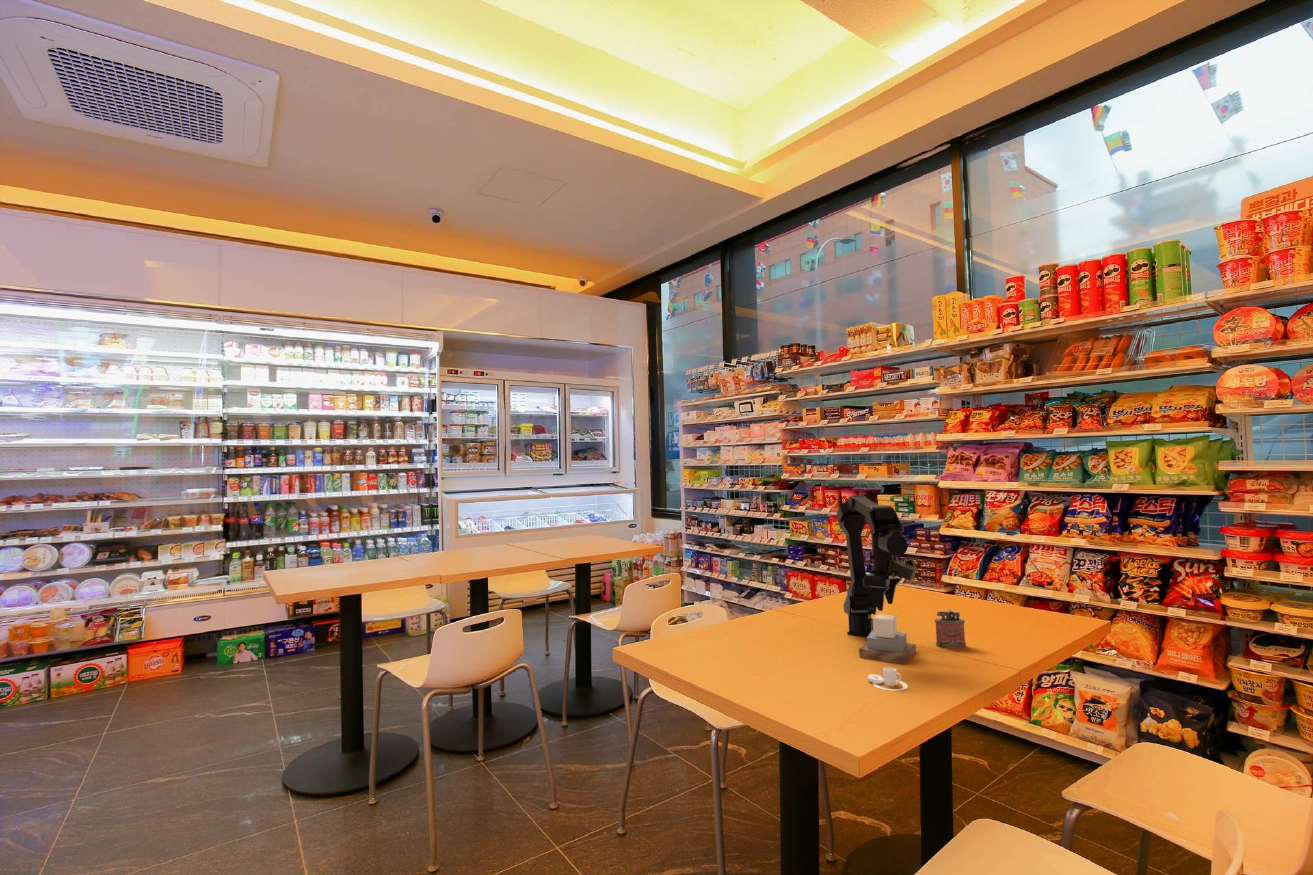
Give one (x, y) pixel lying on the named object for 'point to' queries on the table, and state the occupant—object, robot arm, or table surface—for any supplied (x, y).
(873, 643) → the top block
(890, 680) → the teacup and saucer
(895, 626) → the cube
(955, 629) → the lighter
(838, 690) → the table surface
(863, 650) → the base block
